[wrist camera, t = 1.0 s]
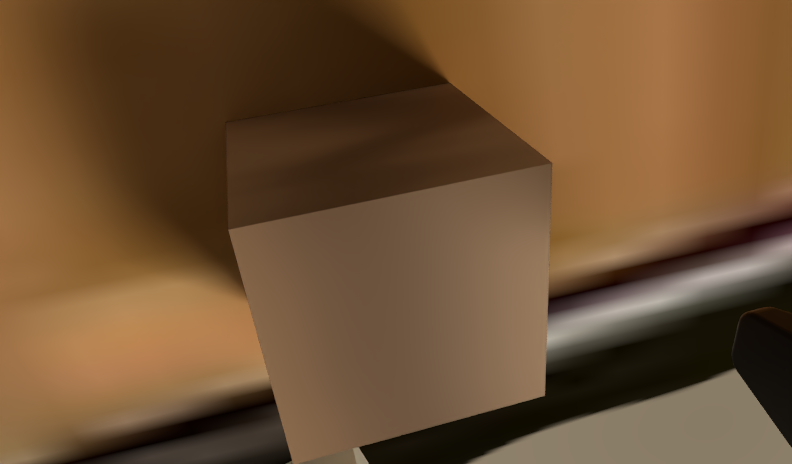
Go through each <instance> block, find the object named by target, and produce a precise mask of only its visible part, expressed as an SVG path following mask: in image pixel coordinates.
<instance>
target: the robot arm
mask: <svg viewBox="0 0 792 464" xmlns="http://www.w3.org/2000/svg"><path fill="white" fill-rule="evenodd" d="M732 361H733V364H734V366H735V368H736V370H737V372H738V373H739V374H740V376H741V377H742V379H743V380H744V381H745V383H746V384H747V385H748V387H749V388H750V390H751V391H752V393H753V394H754V395H755V397H756V398H757V400H758V401H759V402H760V404H761V405H762V407H763V408H764V410H765V411H766V412H767V414H768V415H769V417H770V418H771V419H772V421H773V422H774V423H775V425H776V426H777V428H778V429H779V431H780V432H781V433H782V434H783V436H784V438H785V439H786V440H787V442H788V443H789V445H790V446H791V447H792V313H789V312H786V311H783V310H780V309H777V308H773V307H764V308H760V309H756V310H752V311H749V312H746V313H744V314H743V315H742V316H741V317H740V320H739V323H738V328H737V332H736V336H735V340H734V345H733V349H732Z"/></svg>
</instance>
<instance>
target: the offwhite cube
mask: <svg viewBox="0 0 792 464" xmlns="http://www.w3.org/2000/svg"><path fill="white" fill-rule="evenodd" d="M286 464H293V462H292V461H290V462H288V463H286ZM299 464H369V463H368V462H367V460H366V459H365V457H364V455H363V454H362V452H361V451H360V449H359V448H358V447H357V448H353V449H349V450H346V451H342V452H338V453H335V454H331V455H328V456H324V457H320V458H317V459H313V460H309V461H306V462H302V463H299Z"/></svg>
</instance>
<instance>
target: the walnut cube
mask: <svg viewBox="0 0 792 464" xmlns="http://www.w3.org/2000/svg"><path fill="white" fill-rule="evenodd" d="M226 156H227V198H228V231H229V234H230V238H231V242H232V245H233V249H234V252H235V256H236V260H237V263H238V267H239V270H240V274H241V278H242V281H243V285H244V288H245V292H246V296H247V299H248V303H249V307H250V310H251V314H252V317H253V321H254V325H255V328H256V332H257V335H258V339H259V343H260V346H261V350H262V353H263V357H264V361H265V364H266V368H267V371H268V375H269V379H270V382H271V386H272V389H273V393H274V397H275V400H276V404H277V407H278V411H279V415H280V418H281V422H282V426H283V429H284V433H285V436H286V440H287V444H288V447H289V451H290V454H291V458H292V462H293V464H299V463H302V462H306V461H309V460H313V459H317V458H320V457H324V456H328V455H331V454H335V453H338V452H342V451H346V450H349V449H353V448H357V447H360V446H364V445H367V444H371V443H375V442H378V441H382V440H386V439H389V438H393V437H396V436H400V435H404V434H407V433H411V432H415V431H418V430H422V429H426V428H429V427H433V426H436V425H440V424H444V423H447V422H451V421H455V420H458V419H462V418H465V417H469V416H473V415H476V414H480V413H484V412H487V411H491V410H494V409H498V408H502V407H505V406H509V405H513V404H516V403H520V402H524V401H527V400H531V399H534V398H538V397H542V396H545V374H546V343H547V312H548V281H549V250H550V219H551V188H552V162H550V161H549V160H548V159H546V158H545V157H544V156H543V155H541V154H540V153H539V152H538V151H536V150H535V149H534V148H532V147H531V146H530V145H529V144H527V143H526V142H525V141H523V140H522V139H521V138H520V137H518V136H517V135H516V134H515V133H513V132H512V131H511V130H509V129H508V128H507V127H506V126H504V125H503V124H502V123H501V122H499V121H498V120H497V119H495V118H494V117H493V116H492V115H490V114H489V113H488V112H486V111H485V110H484V109H483V108H481V107H480V106H479V105H478V104H476V103H475V102H474V101H472V100H471V99H470V98H469V97H467V96H466V95H465V94H463V93H462V92H461V91H460V90H458V89H457V88H456V87H455V86H453V85H452V84H451V83H446V84H440V85H435V86H429V87H423V88H418V89H412V90H406V91H401V92H395V93H390V94H384V95H378V96H373V97H367V98H361V99H356V100H350V101H344V102H339V103H333V104H327V105H322V106H316V107H310V108H305V109H299V110H293V111H288V112H282V113H276V114H271V115H265V116H259V117H254V118H248V119H242V120H237V121H231V122H226Z"/></svg>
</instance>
